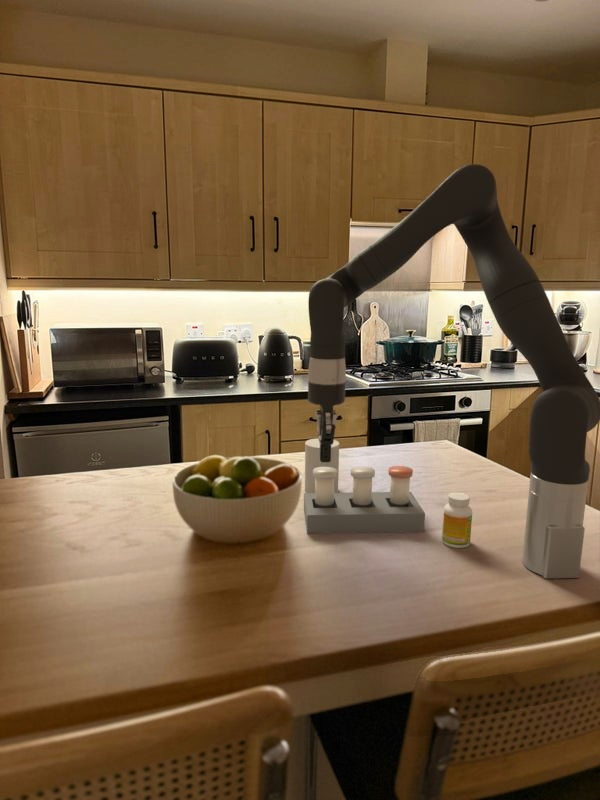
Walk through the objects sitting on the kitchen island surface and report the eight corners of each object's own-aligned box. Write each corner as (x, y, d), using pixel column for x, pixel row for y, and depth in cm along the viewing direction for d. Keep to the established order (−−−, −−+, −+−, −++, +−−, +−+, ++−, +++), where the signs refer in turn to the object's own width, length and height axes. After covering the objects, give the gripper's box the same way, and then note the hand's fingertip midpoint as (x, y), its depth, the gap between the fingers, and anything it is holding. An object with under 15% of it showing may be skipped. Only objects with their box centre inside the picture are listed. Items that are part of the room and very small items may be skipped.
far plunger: (337, 506, 119) (338, 474, 118) (313, 506, 119) (313, 474, 117) (334, 497, 124) (335, 466, 123) (311, 497, 124) (312, 466, 122)
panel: (424, 531, 117) (425, 513, 117) (307, 533, 116) (307, 515, 115) (410, 508, 129) (411, 491, 128) (303, 510, 128) (303, 493, 127)
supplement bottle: (471, 550, 110) (474, 502, 108) (442, 547, 111) (445, 500, 109) (468, 537, 115) (472, 492, 113) (441, 535, 116) (444, 489, 114)
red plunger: (413, 505, 120) (415, 473, 118) (390, 505, 120) (391, 473, 118) (408, 496, 125) (409, 465, 123) (385, 496, 125) (386, 465, 123)
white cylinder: (338, 485, 144) (339, 438, 141) (337, 497, 136) (338, 448, 133) (306, 483, 144) (306, 437, 142) (303, 495, 136) (303, 447, 134)
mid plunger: (375, 505, 120) (376, 474, 118) (351, 506, 119) (352, 474, 118) (371, 496, 124) (372, 466, 123) (348, 497, 124) (349, 466, 123)
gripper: (349, 385, 110) (346, 471, 113) (341, 373, 123) (339, 451, 126) (310, 385, 109) (309, 472, 113) (306, 373, 122) (305, 451, 126)
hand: (325, 460), depth 120 cm, fingers closed
